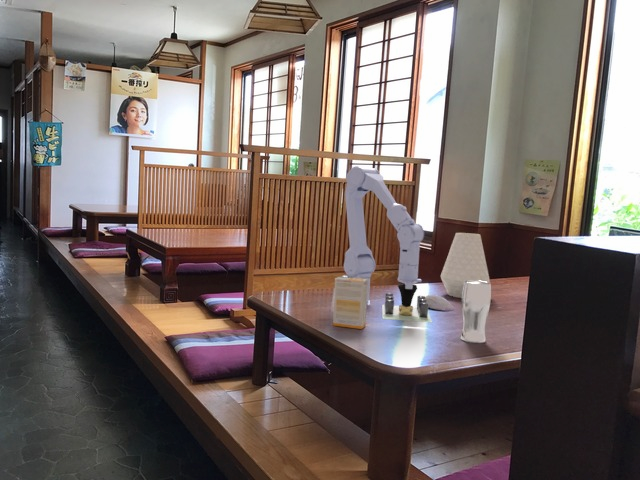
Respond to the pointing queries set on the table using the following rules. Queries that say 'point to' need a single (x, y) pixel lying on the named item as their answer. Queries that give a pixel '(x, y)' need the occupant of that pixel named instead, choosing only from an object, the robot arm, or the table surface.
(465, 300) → the beer glass
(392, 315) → the field mat
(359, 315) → the supplement box
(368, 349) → the table surface
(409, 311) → the brass knob
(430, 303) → the seashell
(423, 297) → the spacers
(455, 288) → the vase
